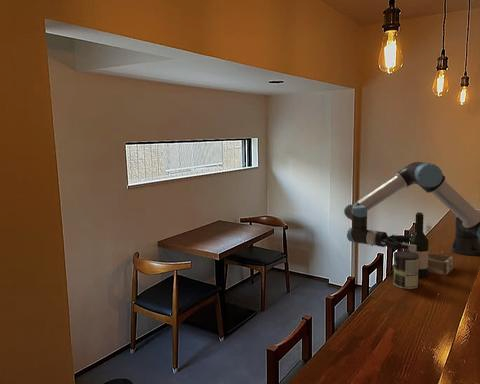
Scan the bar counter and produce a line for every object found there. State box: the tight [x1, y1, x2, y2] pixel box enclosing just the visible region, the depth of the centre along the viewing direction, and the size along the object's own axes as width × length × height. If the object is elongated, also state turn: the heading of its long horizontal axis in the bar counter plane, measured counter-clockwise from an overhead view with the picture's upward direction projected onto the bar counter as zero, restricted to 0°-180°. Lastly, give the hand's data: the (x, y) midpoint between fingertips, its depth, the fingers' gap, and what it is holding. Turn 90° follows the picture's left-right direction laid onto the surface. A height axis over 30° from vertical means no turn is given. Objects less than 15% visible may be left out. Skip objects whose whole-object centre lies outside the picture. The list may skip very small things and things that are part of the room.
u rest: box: [428, 251, 455, 276], centre depth 194 cm, size 12×12×6 cm
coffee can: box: [392, 250, 419, 290], centre depth 175 cm, size 10×10×14 cm
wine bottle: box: [408, 211, 429, 279], centre depth 185 cm, size 8×8×30 cm
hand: (421, 244), depth 184 cm, fingers open, 13 cm apart
